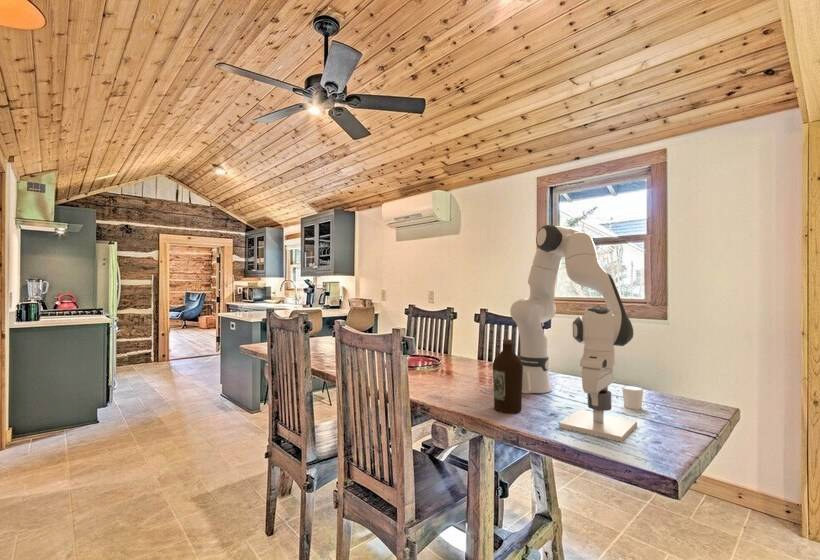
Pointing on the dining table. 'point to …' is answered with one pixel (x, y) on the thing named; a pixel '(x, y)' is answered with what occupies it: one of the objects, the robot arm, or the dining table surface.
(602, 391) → the steel collar
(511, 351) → the olive oil
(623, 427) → the post stand
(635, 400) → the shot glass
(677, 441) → the dining table surface
